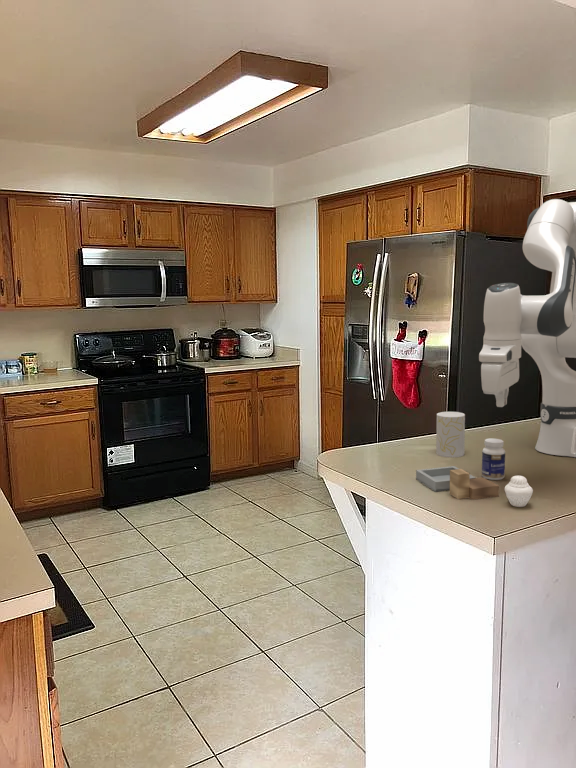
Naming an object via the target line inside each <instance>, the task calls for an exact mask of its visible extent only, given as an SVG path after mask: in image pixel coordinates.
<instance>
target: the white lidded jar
mask: <svg viewBox="0 0 576 768" xmlns="http://www.w3.org/2000/svg"><path fill="white" fill-rule="evenodd" d="M504 492H505V496H506V498H507V499H508V502H509V503H510V505H511V506H512V507H516V508H517V507H518V508H523V507H526V506H527V504H528V502H529V501H530V499H531V497H532V495H533V492H534V489H533V487H531V486H530V485H529V483H528V479H527V478H526V477H525V476H523V475H520V474H519V475H514V476H512V477H511V478H510V481H509V482H508V483H507V484H506V485H505V487H504Z"/></svg>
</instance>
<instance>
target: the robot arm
mask: <svg viewBox="0 0 576 768" xmlns="http://www.w3.org/2000/svg"><path fill="white" fill-rule="evenodd" d="M526 229H527V230H526V232H525V235H524V237H523V241H522V252H523V255H524V257H525V258H526V260H527V261H528V262H529V263H530V264H532V265H533V266H535V267H536V268H538V269H541V270H545V271H548V272H551V280H550V288H549V293H548V294H546V295H545V294H544V295H524V294H521V288H520V286H519V284H518V283H514V282H502V283H496V284H492V285H490V286H489V287H488V288H487V289H486V292H485V297H484V301H483V302H484V303H483V323H484V324H483V325H484V335H483V339H482V340H483V342H482V343H483V345H482V348H481V350H480V352H479V354H478V361H479V362H481V365H480V377H481V378H480V379H481V389H482V391H483V392H482V393H483V394H485V395H494V397H495V401H496V402H495V405H496V407H497V408H503V407H505V406H506V405H507V404H508V396H509V392H510V391H509V390H510V389H509V388H510V387H511V386H513V385H514V384H516V383H518V382H519V379H520V358H522V349H523V350H524V351H525V353H527V354H528V355H529V356H530V357H531V358H532V359H533V361H534V363H535V364H536V365H537V367H538V370H539V371H540V375H541V385H542V401H541V402H540V411H539V414H540V425H539V426H540V427H539V428H540V429H539V433H538V437H537V442H536V443H535V447H534V449H535V450H536V451H537V452H540V453H544V454H547V455H552V456H553V455H555V456H562V457H571V458H576V370H574V369H572V368H571V367H570V366H569V364H568V363H567V362H566V358H571V359H572V358H574V359H576V201H570V202H568V201H565V200H563V199H560V198H554V199H549V200H546V201H545V202H543V203H542V204H541V205H540V206H539V207H537V208H535V209H534V210H533V211H532V212H531V213H530V214H529V216H528V219H527V223H526Z"/></svg>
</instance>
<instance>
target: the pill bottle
mask: <svg viewBox="0 0 576 768" xmlns="http://www.w3.org/2000/svg"><path fill="white" fill-rule="evenodd" d="M483 443H484V446H485V447H483V449H482V452H481V454H482V455H481V476H482V477H483V478H485V479H487V480H489V481H499V480H503V479H504V478H505V473H506V471H505V470H506V450H505V448H503V447H504V440H502V439H500V438H492V437H491V438H485V439H484V442H483ZM482 477H481V478H482Z"/></svg>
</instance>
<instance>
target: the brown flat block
mask: <svg viewBox="0 0 576 768" xmlns="http://www.w3.org/2000/svg"><path fill="white" fill-rule="evenodd" d="M496 497H500V485H499V484H496V483H494V482H493V481H492V480H489V479H486V478H484V477H476V478H474V479H470V483H469V498H468V499H470V500H471V501H472V500H473V501H474V500H480V499H489V498H496Z"/></svg>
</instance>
